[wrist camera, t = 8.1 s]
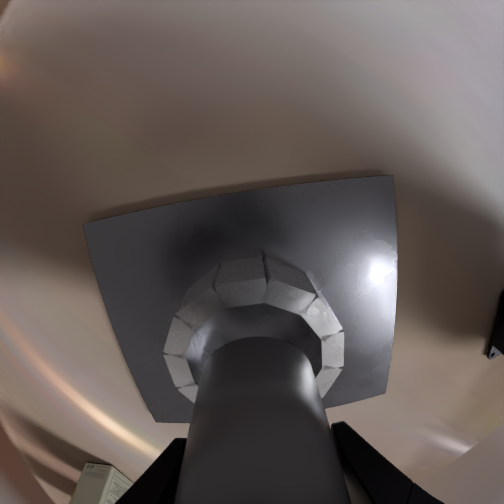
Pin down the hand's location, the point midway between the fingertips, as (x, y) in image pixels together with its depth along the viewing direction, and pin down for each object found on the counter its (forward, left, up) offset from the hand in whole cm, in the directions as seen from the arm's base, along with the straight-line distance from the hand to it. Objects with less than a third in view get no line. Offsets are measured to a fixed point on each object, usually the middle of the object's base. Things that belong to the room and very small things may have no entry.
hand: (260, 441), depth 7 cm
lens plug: (0, 0, -3) cm, 3 cm away
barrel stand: (0, 0, -8) cm, 8 cm away
